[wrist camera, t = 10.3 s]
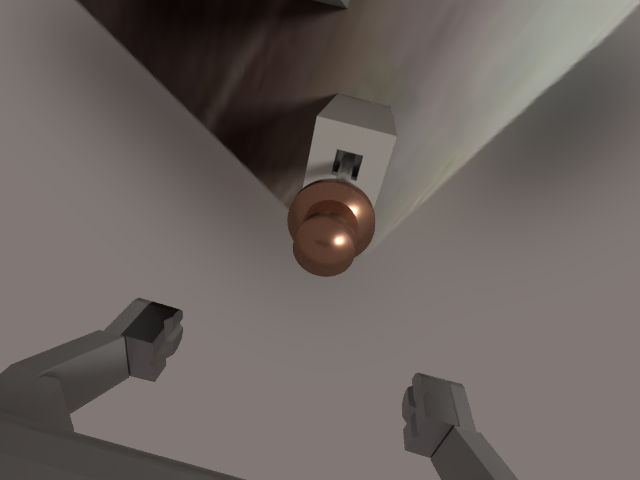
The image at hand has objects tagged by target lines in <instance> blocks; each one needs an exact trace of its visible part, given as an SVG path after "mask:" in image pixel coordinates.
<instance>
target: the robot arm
mask: <svg viewBox="0 0 640 480" xmlns="http://www.w3.org/2000/svg"><path fill="white" fill-rule="evenodd" d="M182 318H183V312H182V310H179V309H176V308H173V307H170V306H166V305H163V304H159V303H156V302H152V301H149V300H145V299H141V298H137V299H135V300H134V301H133V302H132V303H131V304H130V305H129V306H128V307H127V308H126V309H125V310H124V311H123V312H122V313H121V314H120V315H119V316H118V317H117V318H116V319H115V320H114V321H113V322H112V323H111V324H110V325H109V326H108V327H107V328H106V329H105V330H104V331H101V330H98V331H95V332H93V333H90V334H88V335H85V336H83V337H80V338H77V339H75V340H72V341H70V342H68V343H65V344H62V345H60V346H57V347H55V348H52V349H50V350H47V351H45V352H42V353H39V354H37V355H34V356H32V357H29V358H27V359H24V360H22V361H19V362H16V363H14V364H11V365H10V366H9V367H8V368H7V369H6V370H4V371H3V372H2V373H1V374H0V480H245V479H241V478H238V477H234V476H230V475H227V474H223V473H219V472H216V471H212V470H209V469H205V468H202V467H198V466H194V465H191V464H187V463H184V462H180V461H176V460H173V459H169V458H166V457H162V456H158V455H154V454H151V453H147V452H144V451H140V450H136V449H133V448H130V447H126V446H122V445H119V444H115V443H112V442H108V441H104V440H100V439H97V438H94V437H90V436H86V435H83V434H79V433H76V432H74V428H73V424H72V421H71V418H70V413H72V412H74V411H75V410H77V409H79V408H80V407H82V406H84V405H85V404H87V403H89V402H90V401H92V400H93V399H95V398H97V397H98V396H100V395H101V394H103V393H105V392H106V391H108V390H109V389H111V388H113V387H114V386H116V385H117V384H119V383H121V382H122V381H124V380H126V379H127V378H129V376H133V377H137V378H141V379H145V380H149V381H153V382H155V381H156V379H157V378H158V376H159V375H160V373H161V372H162V371H163V369H164V368H165V366H166V358H167V357H169V356H171V355H173V354H174V353H175V351H176V350H177V348H178V346H179V344H180V341H181V338H182V333H183V327H182V326H181V324H180V321H181V320H182ZM412 384H413V386H411V387H408V388H407V390H406V392H405V394H404V398H403V403H402V416H403V418H404V420H405V421H406V423H407V424H406V426H405V428H404V429H403V431H404V444H405V450H407V451H409V452H413V453H416V454H419V455H422V456H426V457H429V458H431V461H432V463H433V465H434V467H435V469H436V471H437V472H438V474H439V476H440V478H441V480H518V479H517V478H516V476H515V475H514V474H513V472H512V471H511V470H510V469H509V467H508V466H507V465H506V464H505V463H504V461H503V460H502V459H501V458H500V456H499V455H498V454H497V453H496V451H495V450H494V449H493V448H492V446H491V445H490V444H489V443H488V441H487V440H486V439H485V438H484V437H483V435H482V434H481V433H479V432H476V429H475V425H474V421H473V418H472V414H471V411H470V407H469V403H468V399H467V396H466V392H465V388H464V386H463V385H462V384H459V383H455V382H452V381H448V380H444V379H441V378H437V377H433V376H428V375H425V374H421V373H416V374H415V375H414V377H413V379H412Z"/></svg>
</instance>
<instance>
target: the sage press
mask: <svg viewBox="0 0 640 480" xmlns="http://www.w3.org/2000/svg"><path fill="white" fill-rule="evenodd" d="M314 1H318V2H322V3H326V4H330V5H334V6H338V7H343V8H347V9H348V4H349V0H314Z"/></svg>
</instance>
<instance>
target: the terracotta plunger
mask: <svg viewBox="0 0 640 480" xmlns="http://www.w3.org/2000/svg"><path fill="white" fill-rule="evenodd" d="M362 158H363V156H362V155H358V154H354V153H350V152H346V151H343V150H339V149H337V153H336V157H335V162H334V166H333V170H332V171H333V172H337V175H336V178H335V179H333V178H328V179H321V180H317V181H314V182H312V183H310V184H308V185H307V186H305V187H304V188H303V189H302V190H300V192H299V193H298V194H297V195H296V197H295V199H294V200H293V202H292V204H291V206H290V209H289V212H288V229H289V232H290V235H291V237H292V239H293V240H294V243H293V253H294V256H295V258H296V260H297V262H298V263H299V265H300V266H301V267H302V268H303V269H305V270H306V271H308V272H310V273H312V274H314V275H317V276H324V277H329V276H334V275H337V274H340V273H342V272H344V271H345V270H346V269H347V268H348V267H349V266H350V265H351V263H352V261H353V259H354V257H356V256H358V255H359V254H360V253H362V252H363V251H364V250H365V249H366V248H367V246H368V245H369V244H370V242H371V240H372V238H373V235H374V230H375V213H374V209H373V206H372V203H371V201H370V200H369V198H368V197H367V195H366V194H365V193H364V192H363V191H362V190H361V189H360V188H358V187H357V186H355V185H354V184H352V183H350V180H351V176H353V177H357V175H358V172H359V168H360V165H361V161H362Z"/></svg>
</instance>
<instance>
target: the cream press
mask: <svg viewBox="0 0 640 480" xmlns="http://www.w3.org/2000/svg"><path fill="white" fill-rule="evenodd" d="M396 139H397V133H396V128H395V123H394V119H393V114H392V110H391V107H389V106H385V105H381V104H377V103H373V102H369V101H365V100H361V99H357V98H353V97H349V96H345V95H341V94H337V95H336V96H335V97H334V98H333V99H332V100H331V101H330V103H329V104H328V105H327V106H326V107H325V108H324V109H323V110H322V111H321V112H320V113H319V114H318V115H317V118H316V123H315V128H314V133H313V139H312V144H311V149H310V154H309V159H308V164H307V169H306V174H305V179H304V184H303V188H304V187H305V186H307V185H308V184H310V183H312V182H314V181H317V180H321V179H328V178H333V179H335V178H336V175H337V172H333V171H332V170H333V166H334V162H335V157H336V153H337V149H339V150H343V151H346V152H350V153H354V154H358V155H362V156H363V158H362V161H361V165H360V168H359V172H358V175H357V177H353V176H351V180H350V183H352V184H354V185H355V186H357V187H358V188H360V189H361V190H362V191H363V192H364V193H365V194H366V195H367V197H368V198H369V200H370V201H371V203H372V206H373V209H374V207H375V204H376V201H377V197H378V194H379V191H380V188H381V185H382V182H383V179H384V176H385V173H386V170H387V166H388V163H389V160H390V157H391V154H392V151H393V148H394V145H395V142H396Z"/></svg>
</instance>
